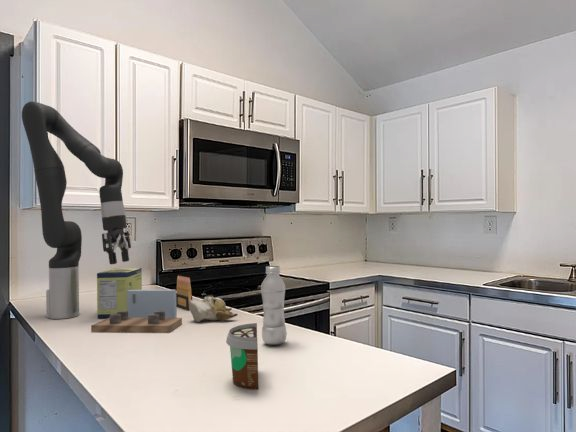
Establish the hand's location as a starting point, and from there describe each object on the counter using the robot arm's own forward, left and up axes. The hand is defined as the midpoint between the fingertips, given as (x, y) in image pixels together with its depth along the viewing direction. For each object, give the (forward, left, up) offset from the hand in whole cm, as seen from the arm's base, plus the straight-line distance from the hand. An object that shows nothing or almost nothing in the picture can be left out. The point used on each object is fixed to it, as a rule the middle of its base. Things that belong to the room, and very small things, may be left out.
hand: (119, 262), depth 141 cm
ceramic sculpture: (+33, -2, -19) cm, 38 cm away
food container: (+54, -53, -19) cm, 78 cm away
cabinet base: (+13, -13, -19) cm, 26 cm away
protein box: (-3, +7, -19) cm, 20 cm away
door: (+13, -3, -19) cm, 23 cm away
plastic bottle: (+57, -28, -19) cm, 66 cm away
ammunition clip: (+17, +16, -19) cm, 30 cm away
